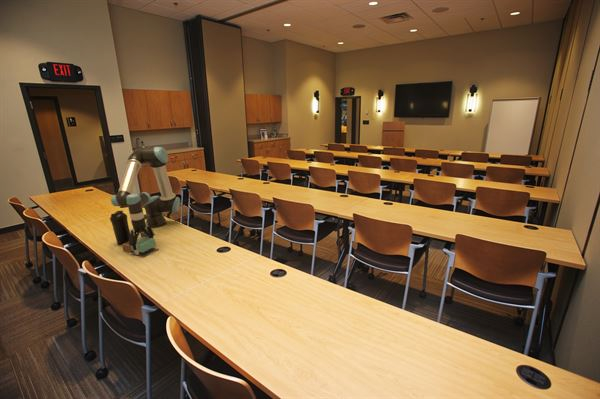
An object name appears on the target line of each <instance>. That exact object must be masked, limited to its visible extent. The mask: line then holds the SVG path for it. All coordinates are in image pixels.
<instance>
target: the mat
mask: <svg viewBox="0 0 600 399" xmlns="http://www.w3.org/2000/svg"><path fill="white" fill-rule="evenodd" d="M159 250H160V249H159V248H155V247H153V248H151V249H149V250H147V251H145V252H139V255H137V254H135V252H133V253H129V255H130V256H132V257H134V256H135V257H139V258H147V256H149V255H151V254H153V253H156V252H157V251H159Z"/></svg>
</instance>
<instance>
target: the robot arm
mask: <svg viewBox="0 0 600 399" xmlns="http://www.w3.org/2000/svg"><path fill="white" fill-rule="evenodd" d="M168 154H169V153H168V152H167V150H166V149H165V148H164V147H162V146H151V147H147V146H146V147H139V148H137V149H135V150H134V151H133V152H131V154H130V155H129V156H128V158H127V161H126V164H127V165H126V169H125V171H124V175H123V177H122V180H121V182H120V186H119V188H118V192H117V194H113V195H112V196H111V197H110V202H111V204H112V206H114V207H127V208H128V213H129V218H130V221H131V226H132V228H131V229H129V245H130V246H133V250H135V254H137V255H139V250H138V246H137V245H136V243H137V240H138V238H139V236H140V235H141V234H140V233H141V232H144V233H145V234H146V235H147V236H148V237H149V238H153V239H154V236H155V233H154V231H152V229H154V228H155V229H156V228H160V227H162V226H165V225H166V224H167V219H166V217H165V216H164V214H163V213H171V212H172V213H174V212H178V211H179V210H180V207H181V199H180V197H179V196H176V193H174V192H173V188H172V185H171V182H170V181H171V180H170V179H169V178H170V177H169V174H168V171H167V168H166V166H167V163H168V161H169V156H168ZM145 164H146V165H147V164H148V165H149V168H151V169H152V170H153V173H154V176H155V179H156V183H157V186H158V189H159V192H160V195H161V196H160V195H153V196H151V194H149V193H148V192H146V191H143V192H140V193H133V190H134V186H135V183H136V180H137V177H138V174H139V172H140V169H141V168H142V167H143V165H145ZM143 206H144V209H143ZM143 210H144V211H145V214H144V211H143ZM147 214H149V215H150V218H149V219H146V220H145V218H144V215H147ZM145 223H146V224H145ZM145 227H147V229H148V231H149V232H148V231H147V230H146V228H145ZM151 228H152V229H151Z"/></svg>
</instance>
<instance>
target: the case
mask: <svg viewBox="0 0 600 399" xmlns="http://www.w3.org/2000/svg"><path fill="white" fill-rule="evenodd" d="M121 246H122V247H121V248H122V252H124V253H128V254H132V253H134V252H135V251H133V250H132V249H131V246H130V245H129V242H126V243H124V244H122V245H121Z"/></svg>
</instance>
